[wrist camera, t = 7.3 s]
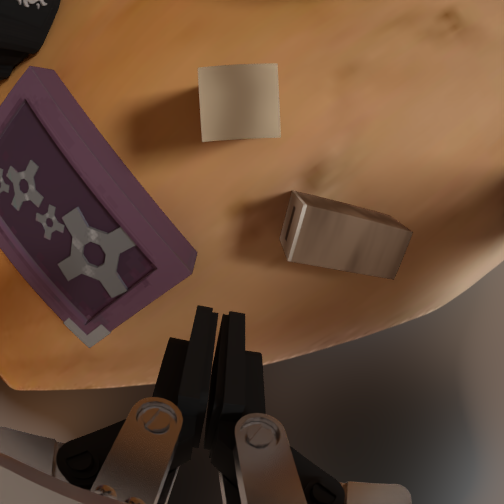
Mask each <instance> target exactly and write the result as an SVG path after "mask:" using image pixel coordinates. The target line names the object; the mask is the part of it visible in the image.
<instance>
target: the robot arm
mask: <svg viewBox="0 0 504 504" xmlns="http://www.w3.org/2000/svg"><path fill="white" fill-rule="evenodd" d="M212 311H213V308H209V307H204V306H199V305H198V306H197V311H196V315H195V319H194V324H193V328H192V332H191V337H190V341H186V340H181V339H176V338H171V337H170V338H169V341H168V344H167V348H166V351H165V354H164V358H163V361H162V364H161V368H160V371H159V375H158V378H157V382H156V386H155V389H154V393H153V396H152V397H149V398H145V399H142V400H140V401H139V402H137V403H136V404H135V405H134V406H133V408H132V409H131V411H130V413H129V415H128V417H127V419H125V420H123V421H120V422H118V423H115V424H113V425H111V426H108V427H106V428H103V429H100V430H98V431H95V432H93V433H90V434H87V435H85V436H82V437H80V438H77V439H74V440H71V441H69V442H67V443H61V442H56V440H55V439H51V438H47V437H42V436H38V435H33V434H29V433H25V432H21V431H17V430H14V429H10V428H6V427H0V504H167V502H168V498H169V496H170V492H171V490H172V487H173V484H174V481H175V478H176V475H177V471H178V469H179V466H180V465H182V464H184V463H186V462H187V461H189V460H191V453H192V447H195V448H199V443H200V438H201V432H202V428H203V423H204V418H205V413H206V407H207V402H208V409H207V418H206V428H205V438H204V449H208V450H210V451H209V458H211V463H212V464H213V465H214V466H215V467H216V468H217V469H218V470H219V477H220V485H221V492H222V498H223V504H412V501H411V495H410V493H409V491H408V490H407V489H406V488H405V487H403V486H402V485H397V484H375V483H361V482H350V481H348V482H347V483H339V482H338V481H337V480H336V479H334V478H333V477H332V476H330V475H329V474H327V473H326V472H324V471H323V470H322V469H320V468H319V467H317V466H316V465H315V464H313V463H312V462H311V461H309V460H308V459H307V458H305V457H304V456H302V455H301V454H300V453H299V452H297V451H296V450H295V449H293V448H292V447H291V446H290V445H289V442H288V439H287V435H286V432H285V430H284V428H283V426H282V424H281V423H280V422H279V421H278V420H277V419H275V418H273V417H272V416H269V415H266V414H265V397H264V381H263V365H262V354H261V353H259V352H251V351H245V314H244V313H238V312H232V311H230V312H229V315H225V314H223V316H222V321H221V326H220V331H219V336H218V341H217V346H216V351H215V356H214V361H213V352H214V344H215V336H216V328H217V320H218V313H214V312H212ZM212 361H213V366H212ZM211 370H212V372H211ZM210 378H211V380H210ZM209 387H210V390H209ZM208 396H209V399H208Z"/></svg>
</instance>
